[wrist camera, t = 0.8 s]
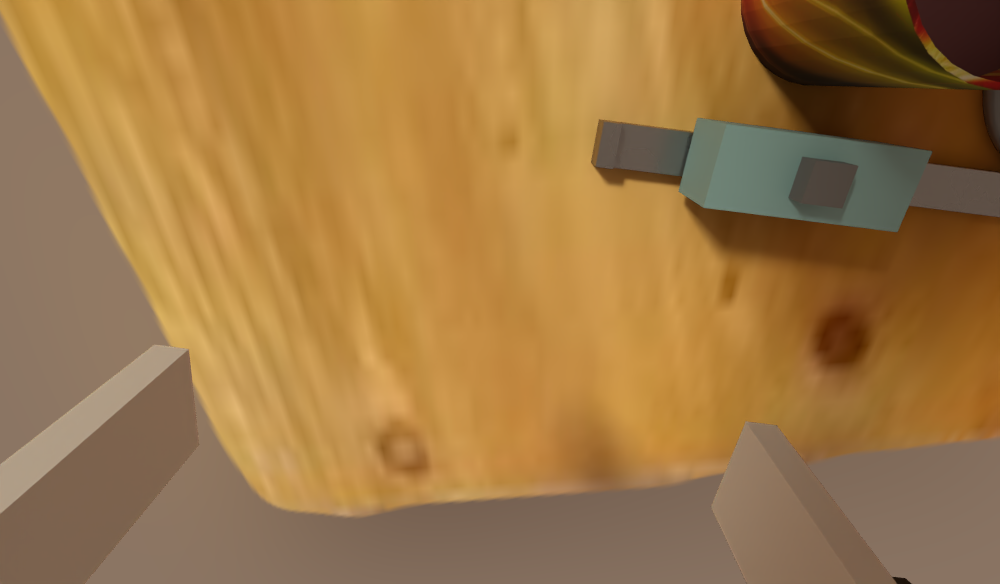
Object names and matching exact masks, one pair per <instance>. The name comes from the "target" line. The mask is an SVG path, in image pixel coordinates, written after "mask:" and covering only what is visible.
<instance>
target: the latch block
mask: <svg viewBox="0 0 1000 584" xmlns="http://www.w3.org/2000/svg"><path fill="white" fill-rule="evenodd" d="M931 154H932V151H928V150H923V149H917V148H911V147H905V146H900V145H894V144H888V143H882V142H876V141H869V140H861V139H854V138H846V137H839V136H831V135H824V134H816V133H808V132H801V131H793V130H786V129H778V128H771V127H763V126H756V125H748V124H741V123H733V122H725V121H718V120H710V119H703V118H697V121H696V125H695V129H694V133H693V137H692V141H691V145H690V149H689V153H688V156H687V160H686V164H685V168H684V172H683V176H682V180H681V184H680V187H679V192H680V193H682V194H683V195H685V196H686V197H688V198H689V199H691V200H692V201H694V202H695V203H697V204H698V205H700V206H701V207H703V208H710V209H717V210H725V211H733V212H741V213H749V214H757V215H765V216H773V217H781V218H789V219H797V220H805V221H813V222H820V223H828V224H836V225H844V226H852V227H860V228H868V229H876V230H884V231H892V232H898V230H899V227H900V225H901V223H902V220H903V218H904V216H905V213H906V211H907V209H908V207H909V204H910V202H911V200H912V197H913V195H914V193H915V191H916V188H917V186H918V184H919V181H920V179H921V177H922V174H923V172H924V170H925V168H926V165H927V163H928V161H929V158H930V156H931Z"/></svg>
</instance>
